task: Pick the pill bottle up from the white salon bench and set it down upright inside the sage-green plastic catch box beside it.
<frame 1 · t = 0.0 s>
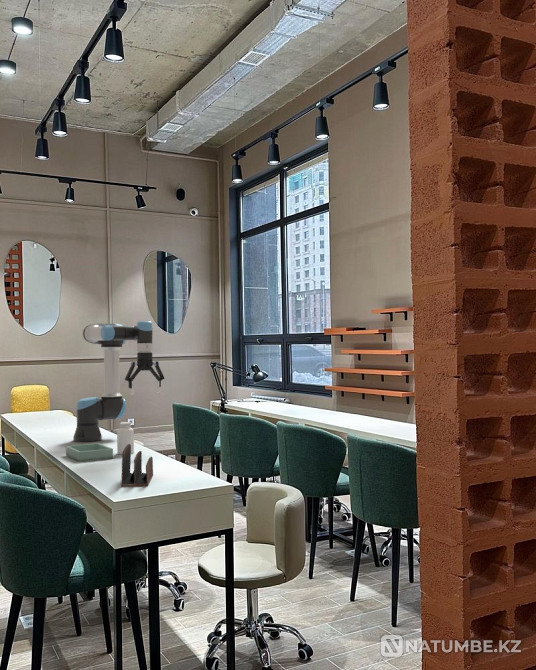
hand: (144, 394, 326), 28 cm above the table, fingers open, 13 cm apart
catch box: (89, 456, 307), on the table
letter holder: (137, 481, 254), on the table
pill bottle: (125, 453, 317), on the table
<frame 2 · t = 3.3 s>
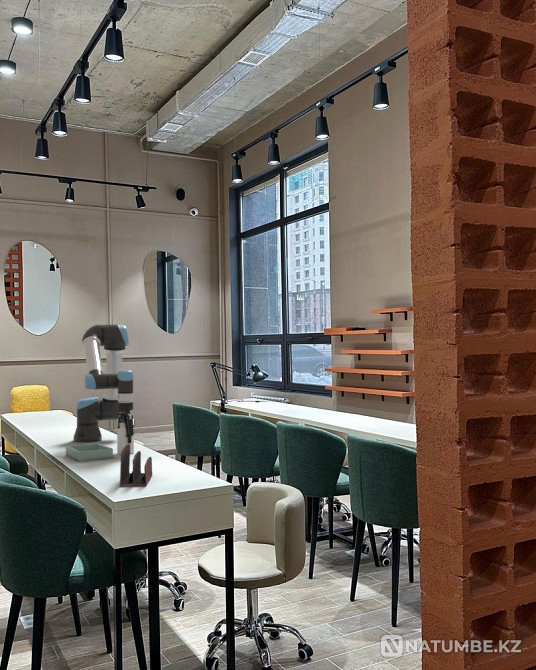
hand: (125, 448, 317), 2 cm above the table, fingers closed on pill bottle, 8 cm apart
pill bottle: (125, 453, 317), on the table, touching gripper
everything else where it was.
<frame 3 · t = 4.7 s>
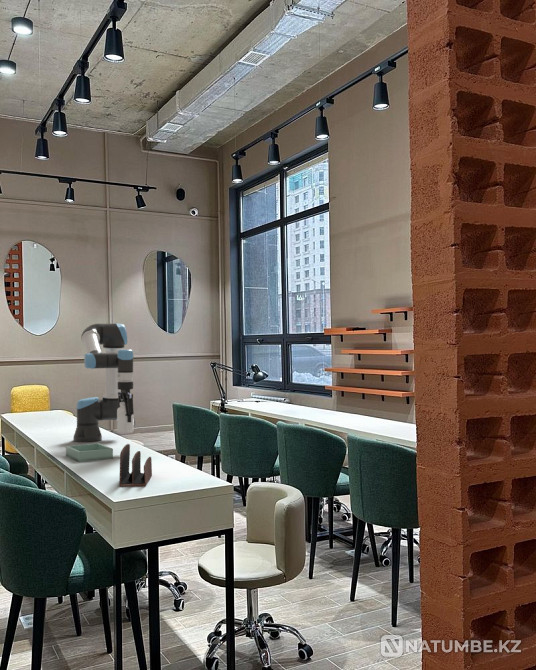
hand: (125, 427, 317), 12 cm above the table, fingers closed on pill bottle, 8 cm apart
pill bottle: (125, 432, 317), point 10 cm above the table, touching gripper
everything else where it was.
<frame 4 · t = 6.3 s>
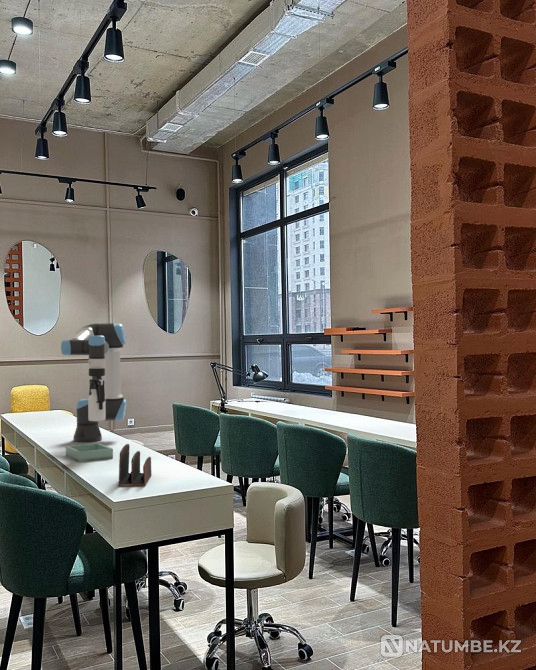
hand: (96, 415, 309), 19 cm above the table, fingers closed on pill bottle, 8 cm apart
pill bottle: (96, 420, 309), point 17 cm above the table, touching gripper
everything else where it was.
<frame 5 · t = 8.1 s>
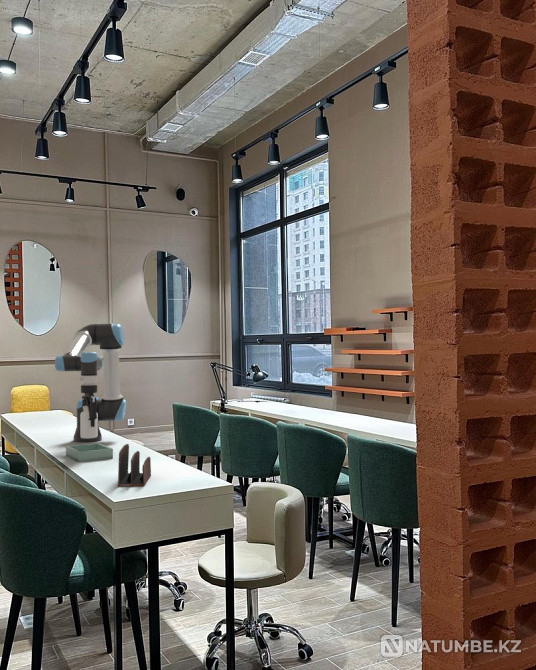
hand: (89, 432, 307), 11 cm above the table, fingers closed on pill bottle, 8 cm apart
pill bottle: (89, 437, 307), point 9 cm above the table, touching gripper
when the fingers open (6 cm above the table, at t = 9.6 s): pill bottle drops 2 cm, resting on catch box.
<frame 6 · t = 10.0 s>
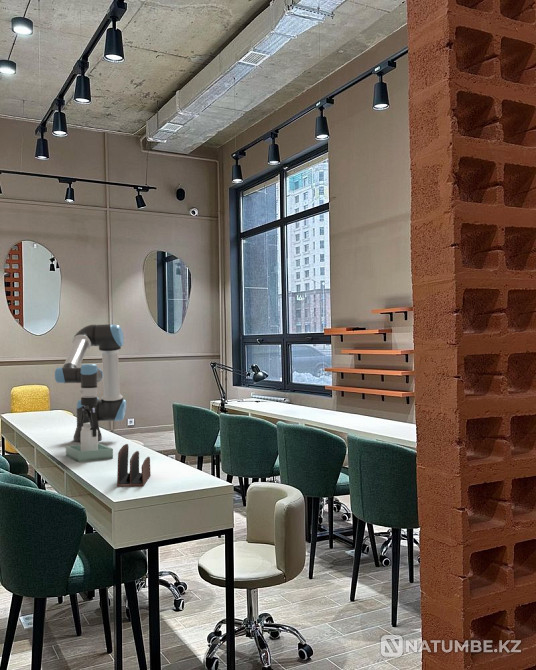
hand: (89, 441, 307), 7 cm above the table, fingers open, 13 cm apart
pill bottle: (89, 455, 307), point 1 cm above the table, touching catch box
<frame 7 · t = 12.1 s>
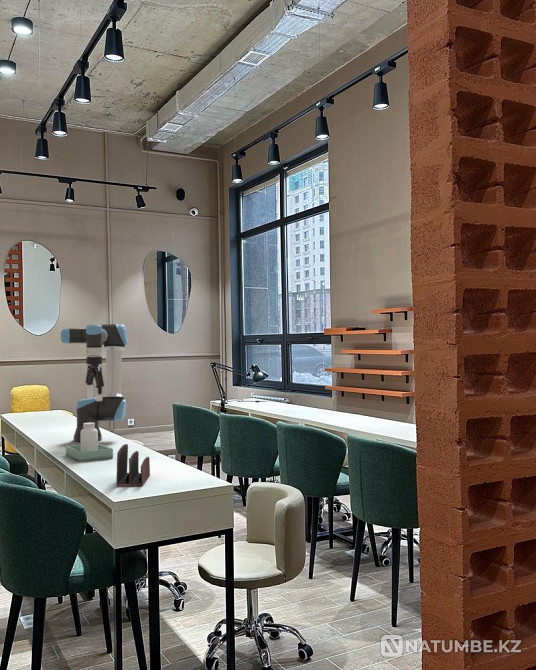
hand: (94, 399, 318), 26 cm above the table, fingers open, 13 cm apart
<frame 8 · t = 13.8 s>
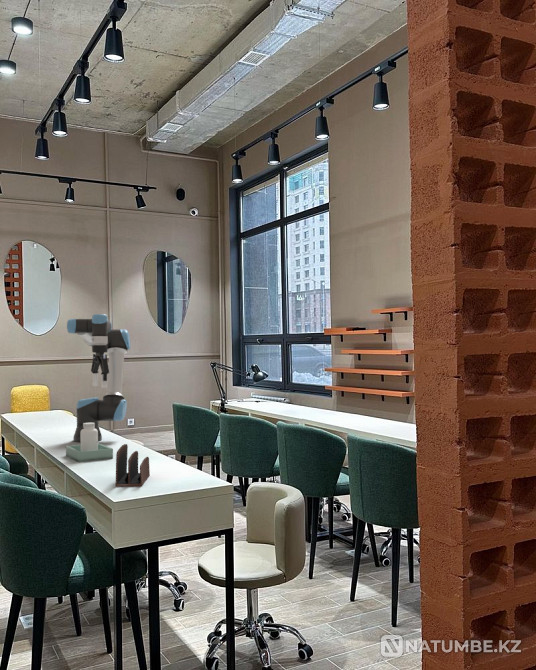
hand: (99, 386, 328), 32 cm above the table, fingers open, 13 cm apart
at the end: pill bottle inside the target area on the catch box (0.0 cm from its centre), point 0.8 cm above the catch box's base; pill bottle tilted 0°; the gripper is holding nothing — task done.
